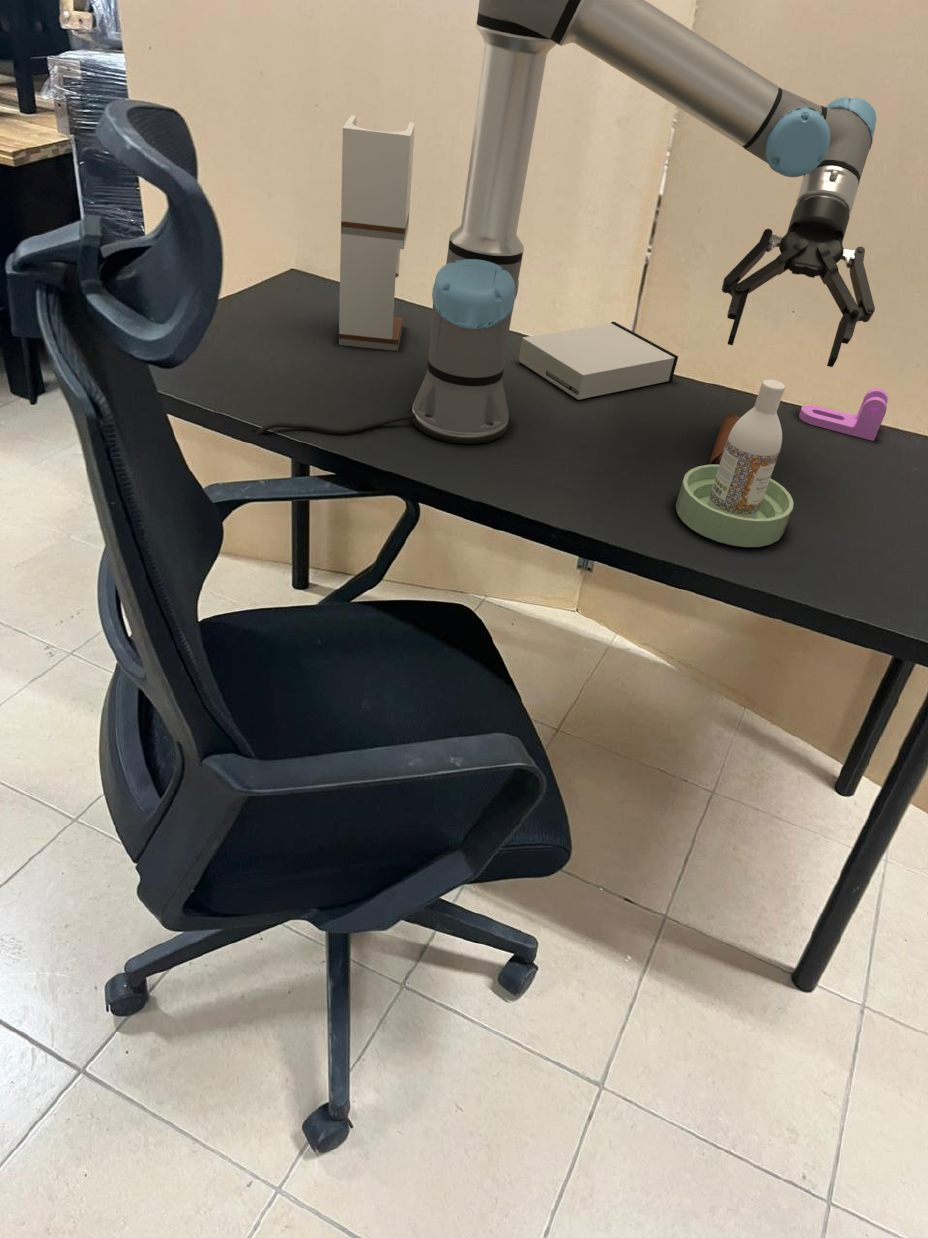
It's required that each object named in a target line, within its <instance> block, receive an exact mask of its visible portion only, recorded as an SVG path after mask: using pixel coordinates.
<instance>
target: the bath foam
mask: <svg viewBox="0 0 928 1238" xmlns="http://www.w3.org/2000/svg"><path fill="white" fill-rule="evenodd" d="M785 390H786V385H785V384H784V383H783V382H781V381H779V380H776V379H764V380H763V381H761V385H760V387H759V391H758V394H757V397H756V400H755V402H754V403H755V404H754V406H753V407H752V408H751V409H749V410H748V411H747V412H745V413H744V414H743V415H742V416H741V417H740V419H739V420H738V421H737V422H736V424H735V425H734V426H733V428H732V430H731V432H730V434H729V436H728V439H727V442H726V445H725V449H724V452H723V455H722V458H721V461H720V465H719V468H718V471H717V474H716V477H715V481H714V484H713V487H712V490H711V493H710V497H709V500H708V503H707V505H708V506H710V507H712V508H714V509H716V510H719V511H721V512H724V513H727V514H731V515H735V516H739V517H745V518H752V519H756V516H757V514H758V511H759V508H760V506H761V503H762V500H763V497H764V494H765V492H766V489H767V486H768V483H769V480H770V478H771V479H772V475H773V472H774V469H775V466H776V464H777V461H778V457H779V455H780V452H781V449H782V444H783V429H782V426H781V425H782V424H781V422H780V419H779V416H778V409H779V407H780V404H781V402H782V398H783V395H784V393H785Z"/></svg>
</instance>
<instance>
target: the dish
mask: <svg viewBox="0 0 928 1238" xmlns="http://www.w3.org/2000/svg"><path fill="white" fill-rule="evenodd" d="M718 468H719V465H709V464H704V465H699V466H695V467H693V468H691V469H690V470H688V471H687V472H686V473H685V474H684V476H683V479H682V483H681V485H680V490H679V493H678V496H677V501H676V502H675V503H676V504H675V510H676V514H677V515H678V517H679V519H680V520H681V521H682V523H683V524H685V525H686V526H687V527H688V528H689V529H690V530H692V531H694V532H696V534H699V535H700V536H703V537H704V538H708V539H710V540H712V541H715V542H718V543H722V544H725V545H728V546H734V547H740V548H741V547H742V548H762V547H765V546H769V545H770V546H771V545H773V544H774V543H776V542H778V541H779V540H780V539H781V538H782V536H783V535H784V533H785V530H786V528H787V526H788V523H789V520H790V518H791V516H792V512H793V510H794V504H795V502H794V499H793V497H792V495H791V494H790V493H789V491H788V490H787V489H786V488H785V487H784V486H783V485H782V484H780V483H779V482H777V481H776V480H774V479H772V477H771V478H770V480H769V483H768V486H767V489H766V492H765V494H764V497H763V500H762V503H761V506H760V508H759V511H758V514H757V516H756V519H752V518H745V517H739V516H735V515H731V514H727V513H724V512H721V511H719V510H716V509H714V508H712V507H710V506H708V505H707V503H708V500H709V497H710V493H711V490H712V487H713V484H714V481H715V477H716V474H717V471H718Z"/></svg>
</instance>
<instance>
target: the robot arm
mask: <svg viewBox="0 0 928 1238" xmlns="http://www.w3.org/2000/svg"><path fill="white" fill-rule="evenodd" d="M475 27H476V29H477V31H478V32H479V34H480V35H481V37H482V39H483V41H484V51H483V57H482V58H483V59H482V65H481V66H482V67H481V73H480V74H481V75H480V81H479V86H478V87H479V88H478V96H477V102H476V109H475V110H476V111H475V118H474V126H473V134H472V141H471V149H470V155H469V162H468V163H469V164H468V171H467V179H466V185H465V193H464V199H463V200H464V202H463V209H462V215H461V216H462V217H461V223H460V225H459V226H458V227H457V228H456V229H455V230H453V231H452V232H451V233H450V234H449V240H448V246H447V255H446V262H445V264H444V265H443V266H442V267H440V269H439V270H438V271H437V273H436V275H435V279H434V284H433V285H432V286H433V287H432V290H431V298H432V309H431V310H432V312H431V322H430V333H429V345H428V356H427V358H428V359H427V369H426V373H425V376H424V378H423V380H422V383H421V385H420V387H419V389H418V392H417V394H416V397H415V399H414V401H413V403H412V408H411V409H412V410H411V413H408V414H402V415H399V416H394V417H391V418H385V419H382V420H378V421H375V422H373V421H372V422H369V423H366V424H363V425H359V426H355V427H346V428H335V427H328V426H322V425H319V424H318V425H317V424H312V423H296V422H285V421H284V422H283V421H281V422H278V421H277V422H271V423H267V424H265V425H263V426H262V427H261V428H259V429H258V430H257V431H256V432H254V436H255V437H260V436H262V435H263V434H264V433H266V432H267V431H269V430H271V429H277V428H287V429H305V430H313V431H318V432H324V433H328V434H329V433H330V434H352V433H358V432H362V431H366V430H369V429H373V428H377V427H382V426H386V425H389V424H394V423H397V422H402V421H406V420H411V421H412V423H413V425H414V426H415V427H416V428H417V429H418V430H419V431H420V432H422V433H423V434H424V435H427V436H429V437H430V438H434V439H437V440H440V441H443V442H448V443H454V444H461V445H462V444H463V445H475V444H476V445H477V444H484V443H489V442H492V441H495V440H497V439H499V438H501V437H502V436H504V435H505V434H506V433H507V430H508V426H509V419H510V413H509V408H508V403H507V398H506V392H505V387H504V381H503V378H504V370H505V364H506V359H507V358H506V356H507V348H508V342H509V334H510V328H511V322H512V317H513V311H514V306H515V301H516V299H517V296H518V291H519V286H520V285H519V283H520V280H519V278H520V274H521V273H520V272H521V268H522V261H523V255H524V249H525V247H524V246H525V245H524V243H523V242H522V241H521V239H520V238H519V236H518V235H517V233H518V227H519V221H520V216H521V210H522V202H523V198H524V193H525V192H524V191H525V187H526V181H527V180H526V179H527V174H528V173H527V172H528V168H529V162H530V157H531V156H530V155H531V151H532V146H533V145H532V144H533V139H534V134H535V127H536V121H537V114H538V110H539V109H538V108H539V103H540V97H541V91H542V87H543V86H542V85H543V81H544V74H545V68H546V61H547V56H548V53H549V52H550V51H551V50H552V49H553V48H554V47H556V46H557V45H558V46H559V47H563V46H565V45H569V44H575V45H576V46H579V47H580V48H582V49H583V50H584V51H587V53H589V54H591V55H593V56H595V57H596V58H598V59H599V60H601V61H602V62H604V63H606V64H608V65H609V66H610V67H612V68H614V69H615V70H617V71H618V72H620V73H622V74H624V75H625V76H626V77H628V78H630V79H632V80H633V81H634V82H636V83H638V84H640V85H642V86H643V87H645V88H646V89H648V90H649V91H650V92H653V93H655V95H658V96H659V97H661V98H662V99H664V100H665V101H668V102H669V103H671V104H672V105H674V106H675V107H677V108H678V109H680V110H682V111H683V112H685V113H687V114H688V115H690V116H691V117H693V118H695V119H696V120H698V121H699V122H702V123H703V124H705V125H706V126H707V127H709V128H711V129H712V130H714V131H716V132H717V133H719V134H720V135H722V136H723V137H725V138H726V139H728V140H730V141H732V142H733V143H735V144H737V145H739V146H740V147H741V148H743V149H744V150H745V151H747V152H749V153H750V154H752V155H753V156H755V157H757V158H758V159H759V160H762V161H763V162H765V163H766V164H768V166H769V168H770V169H771V170H772V171H773V172H776V173H777V174H779V175H781V176H783V177H788V178H799V177H802V181H801V184H800V188H799V190H798V194H797V198H796V201H795V206H794V209H793V210H792V214H791V218H790V221H789V225H788V227H787V231H786V233H785V234H784V236H781V235H777V234H774V233H773V230H772V228H766V229H764V230H763V232H762V235H761V236H760V240H759V241H758V242H757V244H756V245H755V246H754V247H752V249H750V251H749V252H747V254H745V256H744V257H743V258H742V259H741V260H740V261H739V262H738V263H737V264H736V266H734V267H733V269H731V270H730V271H729V272H728V274H727V275H726V276H725V277H724V278H723V282H722V287H721V292H722V293H723V294H729V295H730V296H731V301H730V304H729V307H728V310H727V315H726V316H727V319H729V320H733V323H732V326H731V329H730V333H729V336H728V341H727V345H729V346H734V343H735V339H736V335H737V332H738V330H739V326H740V322H741V319H742V316H743V312H744V309H745V305H746V302H747V299H748V296H749V294H751V293H752V292H754V291H755V290H757V289H759V287H761V286H763V285H765V283H768V282H769V281H771V280H773V278H774V277H777V276H780V275H782V274H784V273H785V272H786V271H790V272H791V274H793V275H797V276H798V275H804V276H806V277H808V278H812V279H815V277H819V278H820V280H821V281H822V283H823V285H826V287H827V289H828V291H829V293H830V295H831V297H832V298H833V300H834V301H835V303H836V305H837V307H838V309H839V311H840V313H841V314H842V316H841V319H840V320H839V323H838V326H837V329H836V333H835V336H834V338H833V339H834V340H833V343H832V347H831V350H830V353H829V357H828V360H827V364H826V367H830V368H833V367H834V365H835V363H836V362H837V360H838V358H839V354H840V351H841V347H842V344H846V345H848V344H849V343H850V342H851V340H852V338H853V336H854V333H855V329H856V327H857V326H856V325H857V323H859V322H863V323H868V322H870V320H871V319H872V316H874V313H875V311H876V307H875V303H874V300H873V295H872V292H871V287H870V282H869V280H868V276H867V275H868V274H867V272H866V267H865V264H864V261H865V254H866V249H865V247H864V246H858V247H856V249H845V248H844V245H843V243H844V238H845V235H846V231H847V227H848V225H849V222H850V215H851V214H852V211H853V208H854V203H855V200H856V196H857V194H858V189H859V186H860V182H861V178H862V175H863V172H864V169H865V165H866V162H867V159H868V156H869V153H870V151H871V148H872V145H873V142H874V135H875V132H876V131H875V130H876V123H877V112H876V110H875V109H874V107H873V106H872V105H871V103H870V102H868V101H867V100H866V99H864V98H860V97H858V96H857V97H854V98H850V97H848V96H842V97H839V98H836V99H834V100H832V101H830V102H829V103H828V104H827V105H826V106H823V105H819V104H817V103H815V102H813V101H811V100H808V99H806V98H804V97H802V96H800V95H798V94H796V93H793V92H791V91H788V90H786V89H784V88H783V87H780V86H778V85H777V84H775V83H774V82H772V81H771V80H769V79H767V78H766V77H764V76H763V75H761V74H760V73H758V72H757V71H755V70H754V69H752V68H751V67H749V66H748V65H746V64H744V63H743V62H741V61H740V60H738V59H737V58H735V57H734V56H732V55H730V54H729V53H727V52H726V51H724V50H722V49H721V48H720V47H718V46H717V45H715V44H713V43H712V42H710V41H709V40H707V39H705V38H704V37H702V36H701V35H700V34H698V33H697V32H695V31H693V30H692V29H690V28H689V27H687V26H686V25H684V24H683V23H682V22H680V21H678V20H676V19H674V18H673V17H672V16H670V15H669V14H667V13H666V12H664V11H663V10H660V9H659V8H658V7H656V6H655V5H654V4H652V3H650V2H649V1H647V0H479V1H478V8H477V17H476V25H475ZM774 248H778V249H779V252H780V253H779V254H778V255H777V257H775V258H774V259H773V260H771V261H770V262H769V263H767V264H765V265H764V266H763V267H760V268H759V269H758V270H756V271H755V272H753V273H752V274H750V275H749V276H747V277H745V276H746V275H748V274H749V272H750V271H751V270H752V269H753V268H754V267H755V266H756V265H757V264H758V263H759V261H760V260H761V259H762V258H763V257H764V255H766V253H769V252H772V251H773V250H774ZM841 260H842V261H843V262H844V263H845V264H844V265H845V266H846V268H847V269H849V278H850V282H851V285H852V286H851V287H852V289H853V293H854V296H853V294H852V293H851V291H850V289H849V287H848V286H847V284H846V282H845V281H844V279H843V277H842V275H841V273H840V271H839V266H838V264H837V263H839V262H840V261H841ZM744 277H745V278H744ZM742 279H743V280H742ZM854 297H855V299H854Z"/></svg>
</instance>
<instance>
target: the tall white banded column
mask: <svg viewBox="0 0 928 1238" xmlns="http://www.w3.org/2000/svg"><path fill="white" fill-rule="evenodd" d="M357 117H358V116H357V115H353V114H351V115H350V116H349V117H348V119H347V121H346V122H345V124H344V125H343V127H342V147H341V149H342V150H341V197H340V198H341V206H340V207H341V208H340V213H341V214H340V262H339V267H340V268H339V307H338V308H339V310H338V311H339V313H338V314H339V316H338V317H339V318H338V319H339V320H338V345H339V346H348V347H356V348H366V349H374V350H376V349H377V350H385V351H394V352H398V351H399V346H400V341H401V337H402V331H403V323H404V322H403V321H404V320H403V319H404V317H400V316H394V312H395V295H396V278H398V277H399V276H400V262H401V260H400V259H401V250H404V249H405V245H406V241H407V237H408V234H409V226H410V225H409V222H410V209H411V208H410V206H411V193H412V192H411V190H412V176H413V175H412V174H413V161H414V160H413V159H414V158H413V157H414V144H415V143H414V142H415V129H416V128H415V127H416V123H415V122H411V121H410V122H409V123H408V126H407V128H406V129H405V130H399V131H385V130H383V131H382V130H373V129H369V128H363V127H360V126H357Z"/></svg>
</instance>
